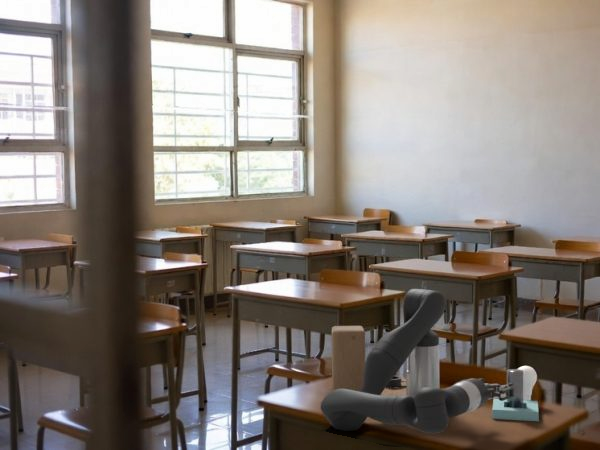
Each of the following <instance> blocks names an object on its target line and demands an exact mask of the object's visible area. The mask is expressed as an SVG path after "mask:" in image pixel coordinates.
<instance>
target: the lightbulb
mask: <svg viewBox="0 0 600 450" xmlns="http://www.w3.org/2000/svg"><path fill="white" fill-rule="evenodd" d="M517 369H518V370H523V400H531V401H532V394H533V393H532V392H533V388H534V386H535V384H536V382H537V379H538V375H537V372H536V369H534V368H533V367H532V366H529V365H523V366H520V367H518V368H517Z"/></svg>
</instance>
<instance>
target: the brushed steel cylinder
mask: <svg viewBox="0 0 600 450" xmlns="http://www.w3.org/2000/svg"><path fill="white" fill-rule="evenodd" d="M508 383H513V385H514V397H512V398H509V399H507V407H508V408H523V370H518V368H511V369H510V368H509V369H507V370H506V384H508Z"/></svg>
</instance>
